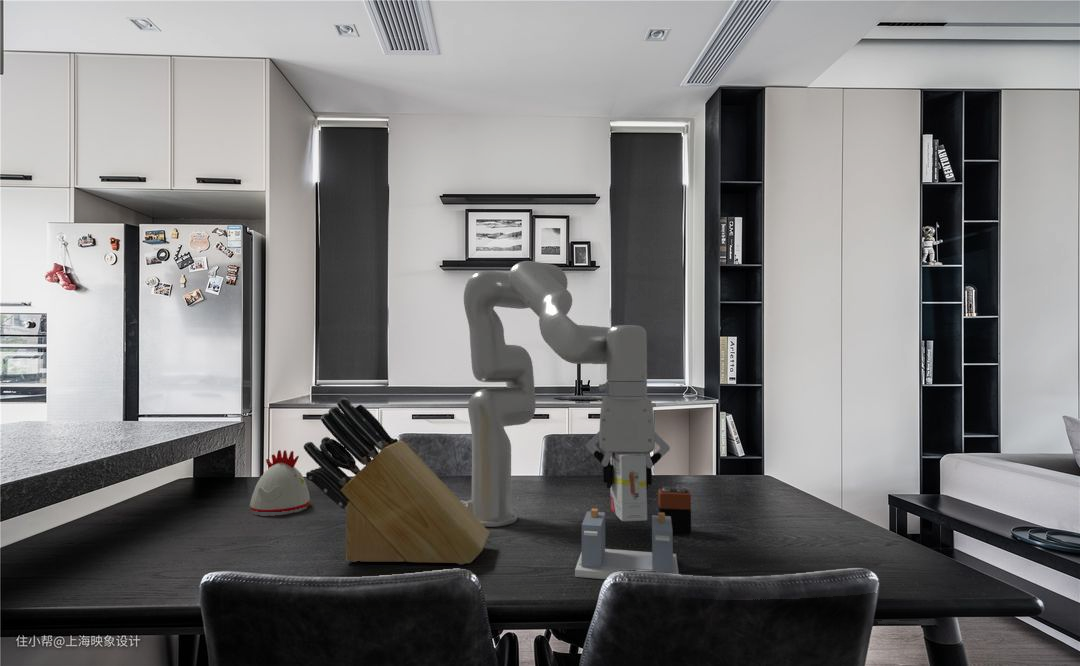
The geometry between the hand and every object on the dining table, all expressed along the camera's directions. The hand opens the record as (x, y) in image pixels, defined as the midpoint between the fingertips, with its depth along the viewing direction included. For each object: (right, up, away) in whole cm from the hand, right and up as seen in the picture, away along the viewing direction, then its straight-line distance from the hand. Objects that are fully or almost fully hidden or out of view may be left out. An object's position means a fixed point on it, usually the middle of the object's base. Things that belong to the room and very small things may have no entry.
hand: (627, 486), depth 101 cm
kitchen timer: (-83, -17, +39) cm, 93 cm away
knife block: (-44, -15, +6) cm, 47 cm away
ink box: (0, -5, 0) cm, 5 cm away
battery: (+14, -16, +21) cm, 30 cm away
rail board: (0, -15, -1) cm, 15 cm away
